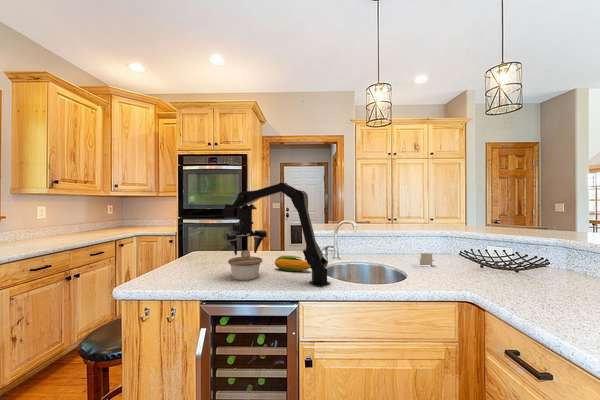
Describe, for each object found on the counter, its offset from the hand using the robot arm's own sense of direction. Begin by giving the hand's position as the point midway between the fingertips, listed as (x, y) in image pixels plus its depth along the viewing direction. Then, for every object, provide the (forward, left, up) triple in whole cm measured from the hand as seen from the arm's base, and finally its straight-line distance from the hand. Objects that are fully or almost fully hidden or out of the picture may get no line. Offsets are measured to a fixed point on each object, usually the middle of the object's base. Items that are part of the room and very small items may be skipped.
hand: (245, 254), depth 121 cm
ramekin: (0, 0, -11) cm, 11 cm away
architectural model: (-33, -87, -11) cm, 94 cm away
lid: (0, 0, -4) cm, 4 cm away
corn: (-3, -24, -11) cm, 26 cm away
